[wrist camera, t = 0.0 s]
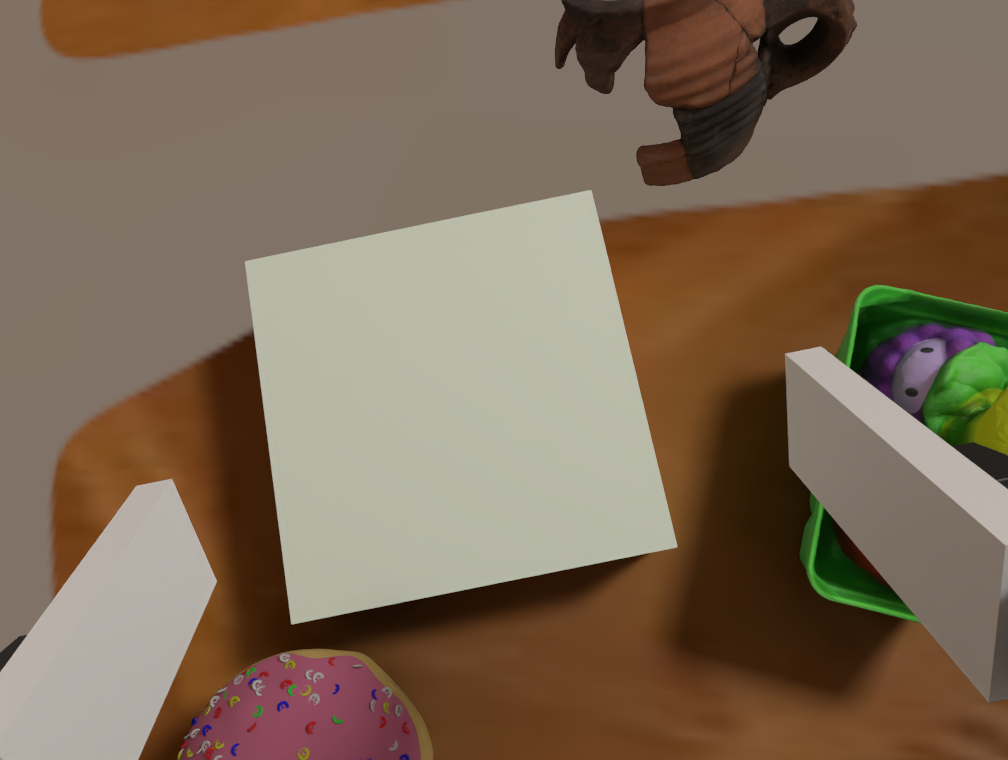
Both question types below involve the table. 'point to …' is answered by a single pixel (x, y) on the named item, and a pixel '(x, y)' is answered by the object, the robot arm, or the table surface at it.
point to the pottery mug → (703, 66)
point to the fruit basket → (913, 410)
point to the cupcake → (309, 713)
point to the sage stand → (452, 408)
